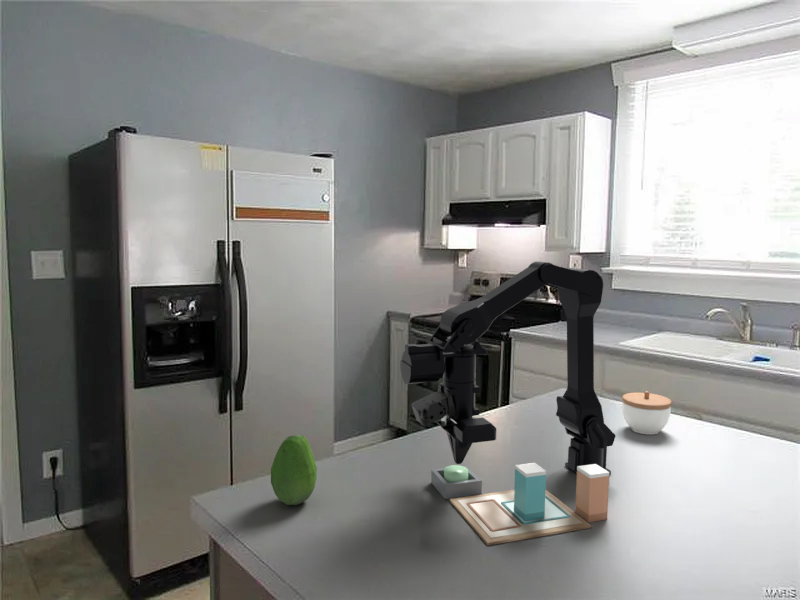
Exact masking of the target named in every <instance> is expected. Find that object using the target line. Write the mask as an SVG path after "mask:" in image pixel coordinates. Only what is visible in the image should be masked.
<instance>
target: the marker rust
mask: <svg viewBox="0 0 800 600" xmlns="http://www.w3.org/2000/svg"><path fill="white" fill-rule="evenodd" d="M575 484H576V485H575V486H576V487H575V508H574V509H575V511H574V512H575V513H576V514H577V515H579V516H580V517H581V518H582V519H584V520H585V521H586V522H587V523H593V522H598V521H603V520H608V509H609V508H608V507H609V492H610V491H609V490H610V489H609V487H610V474H609V472H608V471H607V470H605V469H603V468H602V467H600V466H598V465H597V464H591V465H583V466H577V473H576V483H575Z"/></svg>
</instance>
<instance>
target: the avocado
mask: <svg viewBox="0 0 800 600" xmlns="http://www.w3.org/2000/svg"><path fill="white" fill-rule="evenodd" d="M317 473H318V468H317V463H316V461H315V458H314V454H313V450H312V448H311V444H310V442H309V441H308V439H307V437H305V436H304V435H301V434H293V435H290V436H287V437H286V438H285V439H284V440H283V441H282V443H281V444H280V446H279V448H278V449H277V451H276V454H275V456H274V458H273V462H272V465H271V468H270V484H271V487H272V490H273V493H274V495H275V496H276V498H278V500H279V501H280V502H282V504H285V505H287V506H298V505H300V504H302V503H304V502H305V501H307V500H309V498H310V497H311V495H312V494H313V492H314V490H315V488H316V483H317V477H318V474H317Z"/></svg>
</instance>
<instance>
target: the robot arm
mask: <svg viewBox="0 0 800 600" xmlns="http://www.w3.org/2000/svg"><path fill="white" fill-rule="evenodd" d="M545 286H547V287H550V288H553V289H556V290H557V293H558V300H559V302H560V304H561V307H562V309H563V311H564V313H565V317H566V344H567V345H566V353H567V355H566V356H567V357H566V360H567V361H566V363H567V365H566V369H567V370H566V371H567V373H566V374H567V377H566V378H567V387H566V390H565V392H564V393H563V395H562V396H560V395H558V396H557V397H556V413H555V416H556V417H558V420H559V422H560V424H561V425H562V426H563V427H564V429H565V433H566V434H567V435H569V436H572V437H571V438H570V445H569V446H568V449H567V451H568V453H567V454H568V455H567V462H564V466H565V467H566V468H568V469H569V470H571V471H572V472H574V473H575V474H577V466H583V465H591V464H597V465H598V466H600V467H602V468H603V469H605V470H607V471H608V472H609V475H611V474H612V471H611V470H610V469H609V468H607V456H608V455H607V453H608V452H607V451H608V447H612V446H613V444H614V441H615V438H616V434H615V433H614V432H613V431H612V430H611V429H610V428H609V427H608V425H607V424H606V423H605V418H604V412H603V407H602V404H601V402H600V399H599V398H598V395H597V393H596V390H595V373H594V372H595V363H594V362H595V355H594V354H595V352H594V351H595V350H594V349H595V347H594V345H595V343H594V341H595V339H594V337H595V336H594V335H595V332H594V331H595V330H594V323H595V322H594V319H595V314H596V312H597V310H598V308H599V307H600V306H601V303H602V297H603V293H604V292H603V290H604V280H603V277H602V276H601V274H599V273H598V272H597V271H596V270H594V269H593V270H592V269H585V268H584V269H583V268H575V267H568V268H567V267H563V266H559V265H556V264H553V263H551V262H547V261H533V262H531V263H530V264H529V265H528V266H527V267H526V268H524V269H523V270H522V271H519V273H517V274H515V275H514V276H512V277H510V278H509V279H507V280H506V281H504V282H503V283H501V284H500V285H498V286H497V287H495V288H494V289H492V290H490V291H489V292H487V293H486V294H484V295H482V296H481V297H479V298H477V299H474V300H469V301H465V302H462V303H460V304H458V305H455V306H453V307H451V308H448V309H446V310H445V311H444V312H443V313H442V314H441V315H440V321H439V324H438V326H437V328H436V329H435V331H434V332H433V333H432V335H431V336H430V338H429V339H428V341H427V343H425V344H424V343H423V344H414V343H405V345H404V351H403V352H402V356H401V360H400V362H399V363H400V373H401V378H402V380H403V383H404V384H406V385H412V384H423V383H425V384H426V383H436V382H438V381H440V379H442V380H443V382H439V384H438V386H437V391H436V392H434V393H431V394H428V395H426V396H424V397H422V398H419V399H417V400H414V401H413V402H412V403H411V405H410V406H411V408H412V410H413V414H414V417H415V420H416V421H417V422H419V424H420V425H421V426H423V427H428V426H429V425H430V426H431V425H432V423H437V425H438V426H440V428H442V429H443V431H445V433H446V435H447V437H448V438H447V439H448V442H449V445H450V448H451V449H450V450H451V453H452V458H453V461H454V463H455V465H461V464H462V463H463V462H464V460H465V458H466V456H467V455H468V452H469V451H470V449H471V447H472V444H474V443H475V444H476V443H483V442H492V441H493V442H494V441H496V440H497V427H496V426H494V424H492V423H491V422H490V421H488V420H487V419H486V418H484V417H476V416H480V409H479V408H478V407H476V394H479V393H480V386H478V385H477V384H476V378H477V377H476V369H477V368H476V366H477V365H476V364H477V363H476V362H477V361H476V360H477V358H476V357H477V356H482V355H487V354H488V350H487V349H486V348H484V347H483V346H482V344H481V343H480V341H478V339H479V338H481V337H482V336H483V335H484V334H485V333H486V332H487V331H488V330H489V328H490V327H491V325H492V324H493V322H494V321H495V320H496V319H497V318H498V317H500V316H501V315H503V314H504V313H505V312H507V311H508V310H510V309H511V308H513V307H515V306H516V305H517V304H520V303H521V302H522V301H524V300H525V299H527V298H529V297H530V296H532V295H533V294H534V293H536V292H537V291H539V290H541V289H543V288H544V287H545ZM447 339H448V340H447ZM474 416H475V417H474Z"/></svg>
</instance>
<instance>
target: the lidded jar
mask: <svg viewBox="0 0 800 600" xmlns="http://www.w3.org/2000/svg"><path fill="white" fill-rule="evenodd" d="M621 399H622V415H623V419H624V420H625V423H626V424H627V425H628V427H630V429H631V431H633V432H635V433H637V434H641V435H648V436H649V435H650V436H651V435H653V436H654V435H658V434H659V433H660V431H662V430H663V429H664V428H665V427H666V426H667V425H668V423H669V420H670V417H671V409H672V402H673V401H672V399H670V398H668V397H666V396H663V395H660V394H656V393H652V392H651V393H650V391H647V390H646V391H644V392H628V393H625V394H623V395H622V397H621Z"/></svg>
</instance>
